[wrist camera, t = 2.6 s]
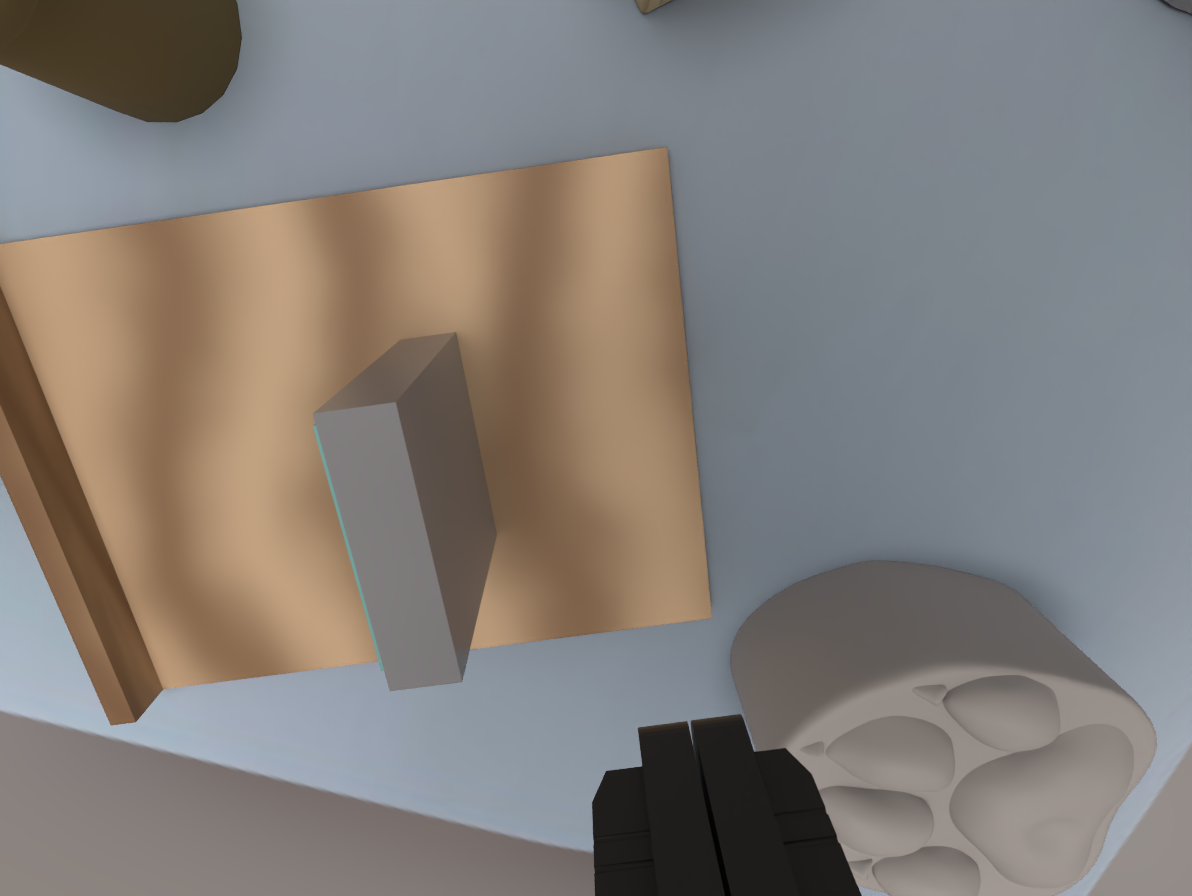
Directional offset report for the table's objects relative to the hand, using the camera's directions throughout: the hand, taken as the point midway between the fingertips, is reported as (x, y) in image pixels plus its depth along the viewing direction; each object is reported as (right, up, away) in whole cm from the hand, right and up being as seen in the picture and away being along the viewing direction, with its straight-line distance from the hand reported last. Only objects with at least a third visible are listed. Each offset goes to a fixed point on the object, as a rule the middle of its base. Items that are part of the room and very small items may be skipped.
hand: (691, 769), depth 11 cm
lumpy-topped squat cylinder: (+11, -5, +22) cm, 25 cm away
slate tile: (-7, +5, +16) cm, 19 cm away
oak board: (-10, +5, +18) cm, 21 cm away
